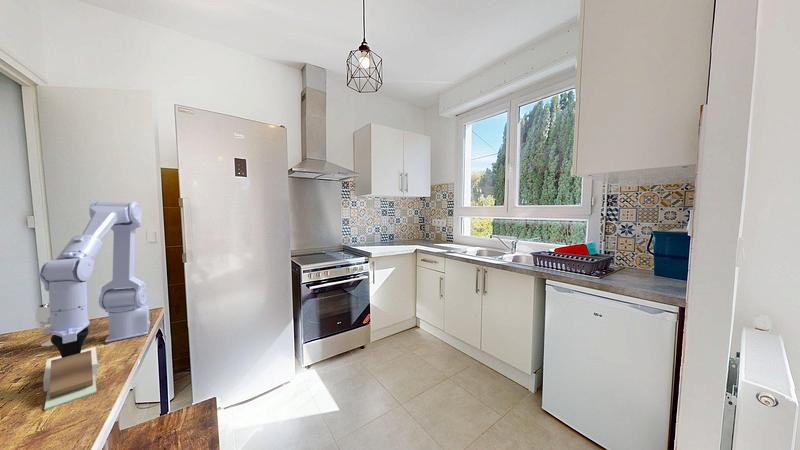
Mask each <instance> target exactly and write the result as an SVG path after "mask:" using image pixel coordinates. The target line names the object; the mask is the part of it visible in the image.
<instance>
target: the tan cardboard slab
mask: <svg viewBox="0 0 800 450" xmlns="http://www.w3.org/2000/svg"><path fill="white" fill-rule="evenodd" d="M92 385H93V375H92V357H91V350H90V351H86V352H82V353H79V354H75V355H71V356H67V357H63V358H59V359H55V360H52V361H51V373H50V392H49V394H50V399H52V398H55V397H58V396H61V395H64V394H67V393H70V392H73V391H76V390H79V389H82V388H85V387H89V386H92Z"/></svg>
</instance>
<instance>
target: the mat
mask: <svg viewBox="0 0 800 450" xmlns="http://www.w3.org/2000/svg"><path fill="white" fill-rule="evenodd" d="M96 383H97V382H96V376H95V375H93V385H92V386H89V387H85V388H82V389H79V390H76V391H73V392H70V393H67V394H64V395H61V396H58V397H55V398H52V399H50V394H49V392H50V389H48V390H47V391H46V397H45V401H44V402H45V403H44V408H43V409H44V411H47V410H49V409H52V407H53V408H55V407H58V406H61V405H64V404H66V403H70V402H73V401H75V400H78V399H81V398H85V397H87V396H90V395H93V394H96V393H97V384H96Z"/></svg>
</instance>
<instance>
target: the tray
mask: <svg viewBox="0 0 800 450" xmlns="http://www.w3.org/2000/svg"><path fill="white" fill-rule="evenodd" d="M90 350H91V357H92V375H95V377H96V376H99V369H98V364H99V363H98V356H97V349H96V346H93V347H90V348H86V349H83V350H82V349H81V353H82V352H86V351H90ZM59 358H62V357H61V355H59V356H54V357H50V358H47V359H46V363H45V368H44V374H43V379H42V381H43V392H47V390H48V389H50V373H51V361H52V360H55V359H59Z"/></svg>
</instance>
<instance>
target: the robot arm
mask: <svg viewBox="0 0 800 450" xmlns="http://www.w3.org/2000/svg"><path fill="white" fill-rule="evenodd" d="M88 210H89V216H90V219H89V221H88V223H87V224H86V226H85V227H84V228H85V229H84V230H83V232H82V234H81V235H79V234H78V235H76V236H73V237H72V238H71V239H70V240H69V242H68V243H67V244H66V245H65V247H64V248H63V249H62V250H61V252H60V253H59V254H58V256H57V257H56V258H53V259H50V260H49V261H47V262H45V263H43V265H42V266H41V268H40V272H39V274H38V277H39V279H40V281H41V282H42V283H43V285H44V290H45V291H46V292H48V303H49V308H50V326H49V327H47V328H43V329H42V330H41V334H42V335H47V334H51V338H50V340H51V342H52V344H54V345H53V346H55V347H56V349H58V352H59V353H60V356H61V357H62V358H63V357H67V356H71V355H75V354H79V353H81V350H82V347H83V344H84V342H85V340H86V338H87V336H88V335H89V332H90V331H89V327H88V326H89V325H90V324H91V323H90V322H91V321H90V320H89V309H88V307H89V306H88V285H87V284H88V282H87V281H88V280H89V279H90V278H91V276H92V275H93V272H94V266H95V264H96V263H95V259H96V257H97V256H98V253H99V252H100V251H101V249H103V246H104V245H103V241H102V239H103V238H104V237H105V236H106V234H107V232H109V231H110V230H111V231H112V232H113V239H112V240H113V244H112V245H113V247H112V249H113V250H112V280H111V281H109V282H108V283H106V284H104V285H103V286H101V290H100V295H99V297H98V305H99V307H100V308H101V309H102V310H104V312H105V313H107V314H108V315H107V317H108V318H107V319H108V335H107V337H106V338H105V341H104V343H110V342H111V343H112V342H115V341H116V342H117V341H120V340H126V339H130V338H135V337H139V336H144V335H147V334H148V333H149V331H150V326H151V321H150V305H148V304H146V301H147V300H148V290H147V284H146V282H145V281H143V280H140V279H139V278H137V277H135V269H136V267H135V263H136V230H137V229H138V228H140V227H142V223H143V210H142V207H141V206H140V203H138V202H136V201H107V200H104V201H101V200H95V201H93V202H92V203H91V204H90V206H89V209H88ZM144 304H145V305H144ZM52 334H54V335H53V336H52Z"/></svg>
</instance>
